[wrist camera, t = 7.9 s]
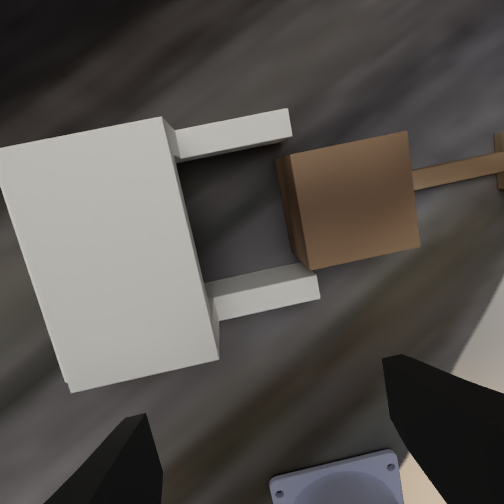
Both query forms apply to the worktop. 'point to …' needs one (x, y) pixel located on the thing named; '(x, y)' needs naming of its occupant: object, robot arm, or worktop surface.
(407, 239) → the tethered block
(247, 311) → the cubby lane
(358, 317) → the worktop surface
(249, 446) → the worktop surface
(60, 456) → the worktop surface
